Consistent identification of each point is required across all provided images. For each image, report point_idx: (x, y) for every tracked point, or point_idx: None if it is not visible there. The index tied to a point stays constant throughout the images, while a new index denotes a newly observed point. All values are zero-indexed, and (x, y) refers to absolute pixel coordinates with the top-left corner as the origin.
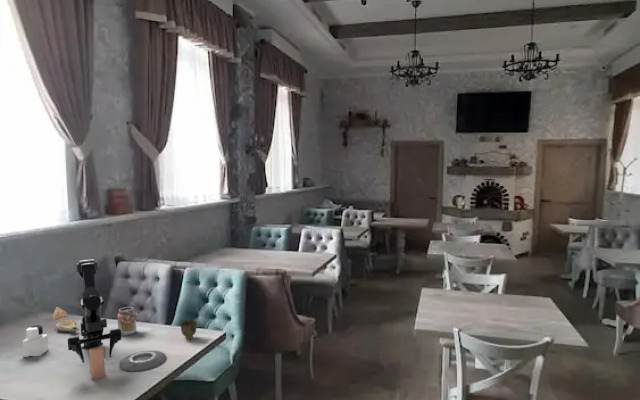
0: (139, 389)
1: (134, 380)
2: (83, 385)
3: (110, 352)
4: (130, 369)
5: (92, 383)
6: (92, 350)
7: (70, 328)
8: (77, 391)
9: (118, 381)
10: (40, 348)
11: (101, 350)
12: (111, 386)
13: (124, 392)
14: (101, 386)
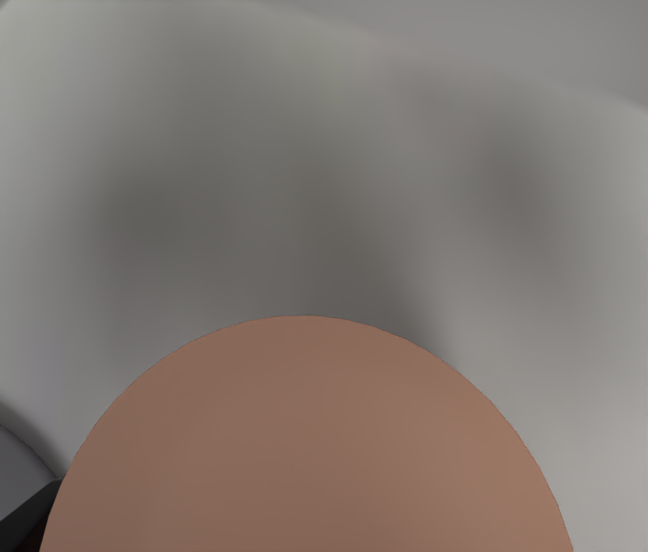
0: (43, 19)
1: (40, 199)
2: (559, 299)
3: (5, 526)
4: (6, 448)
5: (450, 310)
6: (423, 475)
7: None
8: (605, 164)
9: (175, 239)
10: None
11: (135, 393)
12: (247, 152)
13: (154, 4)
14: (344, 189)
